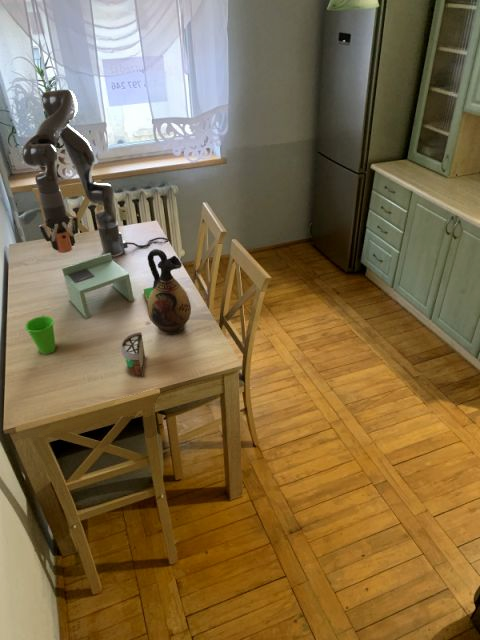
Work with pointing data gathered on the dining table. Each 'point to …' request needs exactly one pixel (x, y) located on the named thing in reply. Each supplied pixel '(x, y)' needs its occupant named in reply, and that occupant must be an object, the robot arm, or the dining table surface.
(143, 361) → the food container
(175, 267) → the ceramic jug
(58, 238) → the copper pot
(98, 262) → the shelf
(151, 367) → the dining table surface
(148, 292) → the dish sponge
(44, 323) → the cup
